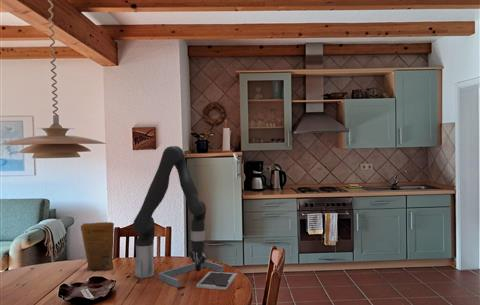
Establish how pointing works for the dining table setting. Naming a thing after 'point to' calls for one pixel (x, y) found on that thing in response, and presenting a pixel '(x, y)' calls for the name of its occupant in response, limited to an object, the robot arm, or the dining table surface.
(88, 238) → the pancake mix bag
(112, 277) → the dining table surface
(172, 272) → the open-front box
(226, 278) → the picture frame
